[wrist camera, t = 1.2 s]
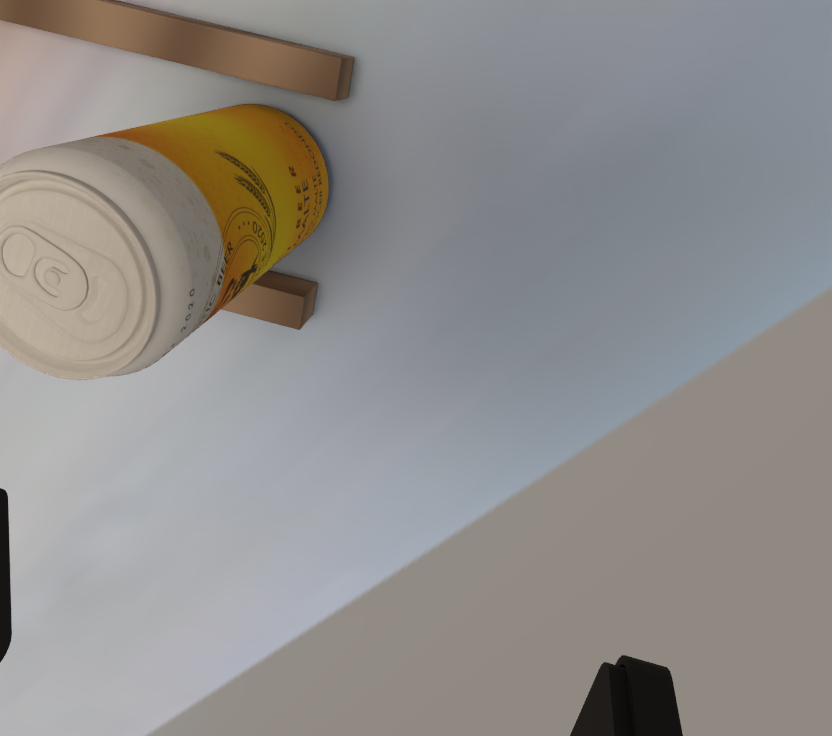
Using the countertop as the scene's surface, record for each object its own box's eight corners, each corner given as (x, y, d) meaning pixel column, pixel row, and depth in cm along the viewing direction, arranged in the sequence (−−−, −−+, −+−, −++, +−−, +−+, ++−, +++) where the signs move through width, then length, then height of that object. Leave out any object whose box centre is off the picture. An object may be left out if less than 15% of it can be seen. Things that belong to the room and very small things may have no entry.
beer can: (291, 274, 34) (115, 435, 20) (174, 196, 33) (-89, 307, 19) (360, 158, 31) (212, 253, 17) (234, 71, 30) (-20, 99, 17)
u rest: (354, 57, 30) (327, 60, 26) (312, 314, 34) (284, 346, 31) (-241, -85, 31) (-346, -101, 27) (-203, 179, 36) (-288, 195, 32)
